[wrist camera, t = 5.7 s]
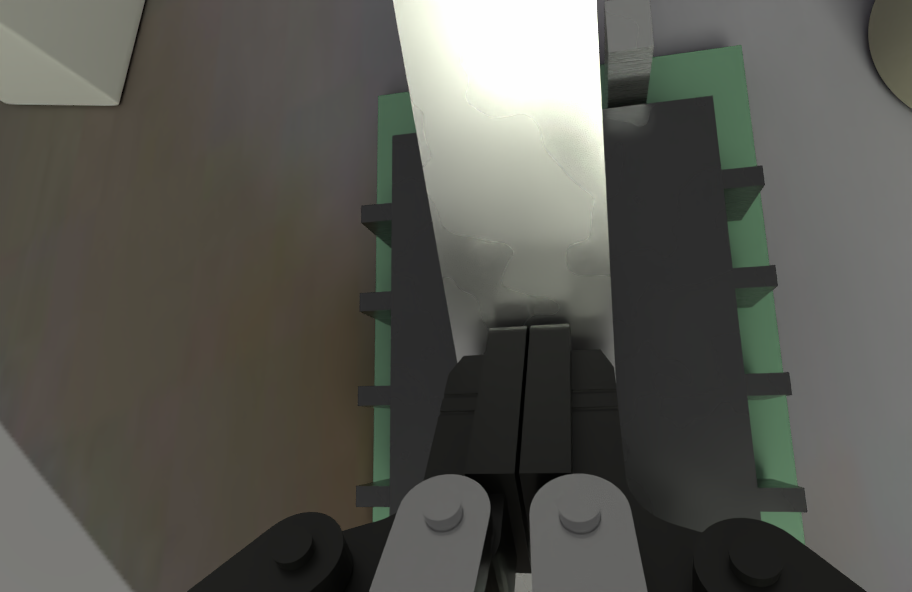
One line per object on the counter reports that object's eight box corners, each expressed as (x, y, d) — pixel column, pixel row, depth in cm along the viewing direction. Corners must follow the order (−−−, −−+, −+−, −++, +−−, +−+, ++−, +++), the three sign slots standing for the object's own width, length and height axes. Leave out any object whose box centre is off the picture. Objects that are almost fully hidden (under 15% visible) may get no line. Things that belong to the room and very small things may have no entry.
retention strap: (626, 611, 16) (629, 647, 15) (510, 605, 17) (506, 640, 16) (589, -86, 9) (591, -92, 8) (400, -49, 10) (383, -53, 9)
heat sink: (396, 135, 25) (327, 37, 19) (723, 95, 22) (770, -36, 16) (393, 601, 21) (306, 672, 15) (785, 619, 19) (878, 715, 12)
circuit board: (387, 110, 27) (378, 95, 26) (734, 63, 24) (741, 44, 23) (382, 673, 22) (370, 686, 21) (814, 704, 19) (827, 722, 18)
